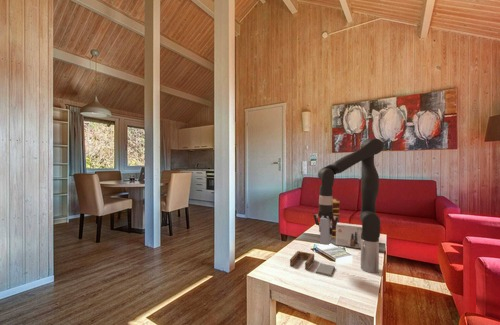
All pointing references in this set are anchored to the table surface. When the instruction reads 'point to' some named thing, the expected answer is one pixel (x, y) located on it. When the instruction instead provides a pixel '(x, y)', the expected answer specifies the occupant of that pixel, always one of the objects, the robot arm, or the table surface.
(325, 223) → the block
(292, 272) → the table surface
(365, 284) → the table surface
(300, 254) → the frame
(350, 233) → the skincare box
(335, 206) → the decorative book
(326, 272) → the pad
